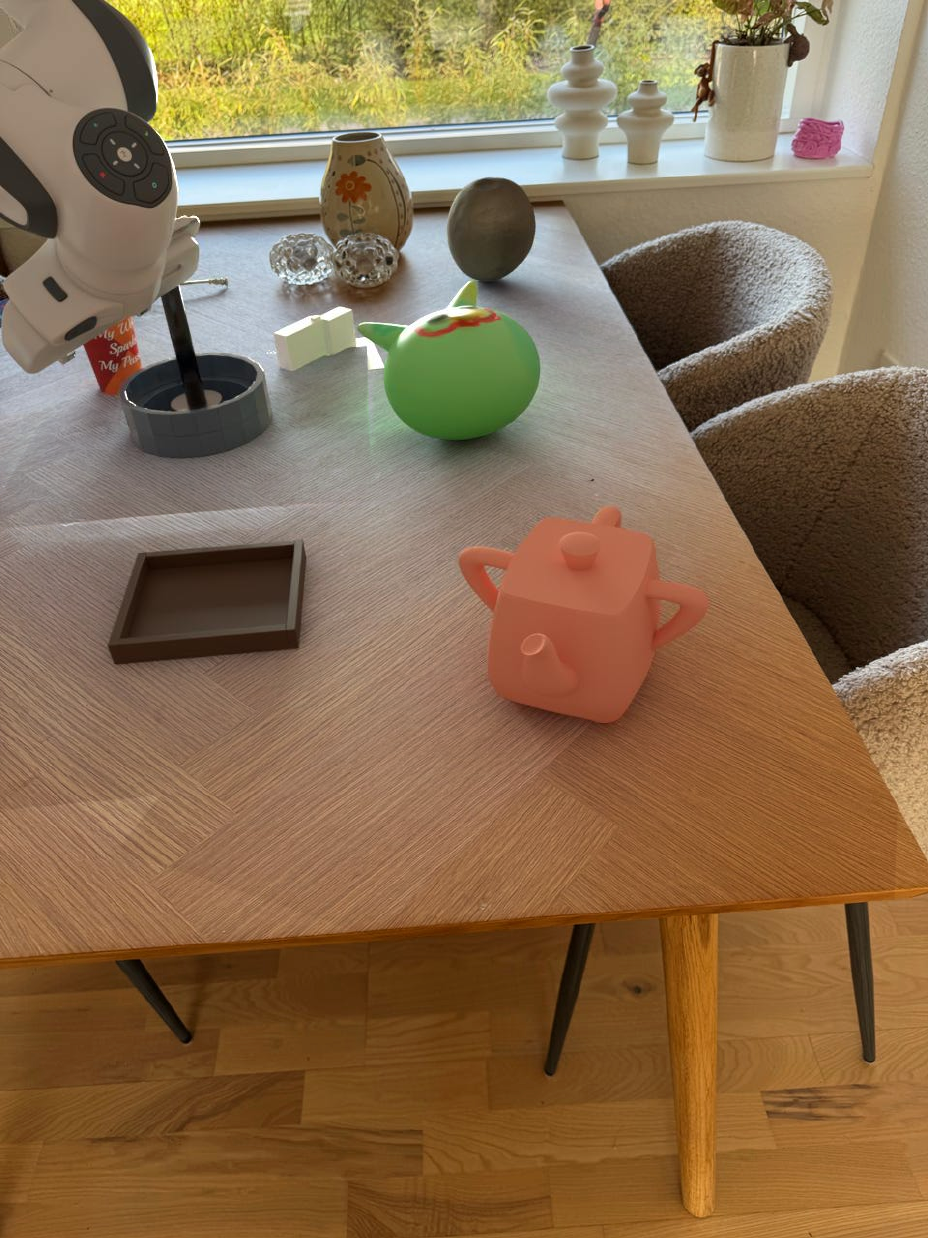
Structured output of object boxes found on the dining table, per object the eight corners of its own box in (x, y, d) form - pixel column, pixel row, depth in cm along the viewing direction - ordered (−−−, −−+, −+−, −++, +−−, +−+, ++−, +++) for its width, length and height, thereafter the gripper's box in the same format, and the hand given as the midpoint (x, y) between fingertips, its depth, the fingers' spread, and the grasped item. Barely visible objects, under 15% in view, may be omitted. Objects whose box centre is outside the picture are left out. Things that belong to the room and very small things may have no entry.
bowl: (119, 467, 105) (104, 419, 101) (146, 402, 118) (133, 357, 114) (266, 456, 105) (257, 407, 102) (277, 392, 118) (268, 347, 114)
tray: (114, 664, 78) (107, 645, 77) (143, 570, 89) (138, 552, 87) (298, 648, 79) (295, 629, 77) (306, 557, 89) (303, 539, 88)
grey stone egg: (433, 290, 144) (427, 188, 135) (468, 262, 154) (465, 164, 145) (518, 300, 140) (518, 194, 130) (548, 269, 150) (550, 169, 140)
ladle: (173, 437, 109) (129, 273, 97) (180, 414, 113) (139, 254, 101) (224, 433, 109) (186, 269, 97) (229, 410, 114) (194, 251, 101)
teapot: (603, 596, 83) (612, 467, 74) (715, 704, 71) (739, 567, 63) (434, 655, 77) (423, 523, 69) (526, 783, 66) (526, 644, 58)
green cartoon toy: (435, 480, 100) (426, 349, 90) (360, 422, 111) (346, 301, 101) (566, 431, 107) (570, 306, 98) (484, 382, 118) (481, 265, 109)
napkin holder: (273, 384, 120) (265, 341, 117) (265, 351, 129) (257, 310, 125) (385, 367, 123) (381, 325, 119) (370, 335, 132) (366, 295, 128)
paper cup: (121, 407, 117) (88, 297, 108) (81, 395, 120) (45, 287, 111) (167, 383, 122) (139, 276, 113) (126, 372, 125) (96, 267, 116)
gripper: (178, 181, 85) (161, 257, 97) (-15, 289, 77) (-7, 357, 89) (224, 237, 86) (201, 305, 98) (39, 350, 78) (39, 409, 90)
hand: (101, 331), depth 94 cm, fingers open, 8 cm apart
